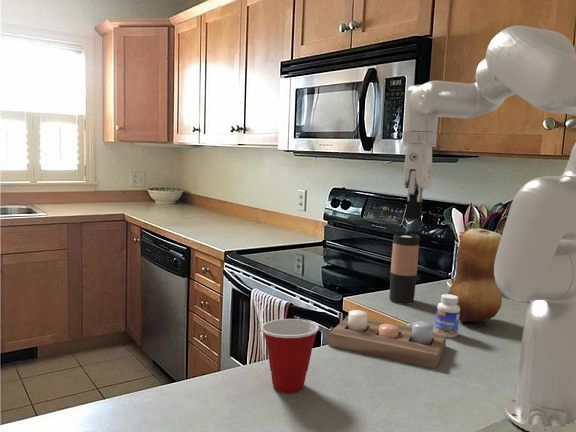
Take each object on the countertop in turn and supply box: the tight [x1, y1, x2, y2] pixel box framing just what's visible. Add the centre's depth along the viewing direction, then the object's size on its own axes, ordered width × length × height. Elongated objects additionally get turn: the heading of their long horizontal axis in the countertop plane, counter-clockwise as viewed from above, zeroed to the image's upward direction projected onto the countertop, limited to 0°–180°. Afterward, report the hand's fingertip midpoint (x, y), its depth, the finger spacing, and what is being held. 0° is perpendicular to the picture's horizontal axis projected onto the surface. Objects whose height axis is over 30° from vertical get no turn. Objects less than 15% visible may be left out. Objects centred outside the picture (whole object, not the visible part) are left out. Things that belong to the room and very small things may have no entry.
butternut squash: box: [447, 228, 503, 324], centre depth 138 cm, size 14×13×25 cm
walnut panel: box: [328, 315, 447, 369], centre depth 119 cm, size 14×24×3 cm, turn 65°
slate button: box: [411, 321, 434, 345], centre depth 116 cm, size 4×4×4 cm
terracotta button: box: [379, 323, 399, 339], centre depth 119 cm, size 4×4×4 cm
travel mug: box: [389, 232, 420, 305], centre depth 154 cm, size 8×8×20 cm
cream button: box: [348, 309, 368, 332], centre depth 122 cm, size 4×4×4 cm
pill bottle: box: [434, 293, 460, 338], centre depth 128 cm, size 5×5×10 cm
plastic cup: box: [260, 318, 320, 394], centre depth 97 cm, size 11×11×12 cm
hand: (413, 218), depth 122 cm, fingers closed
